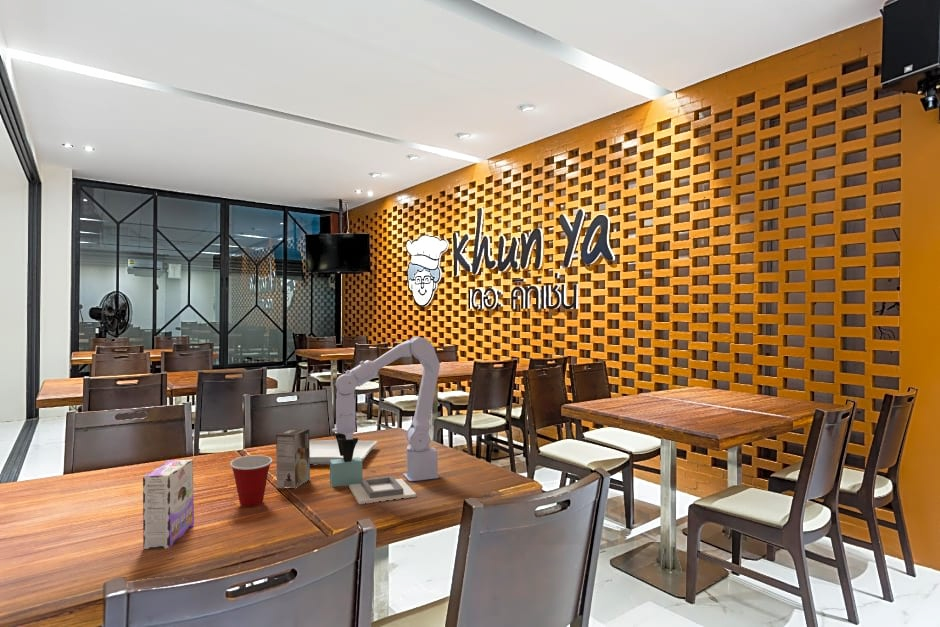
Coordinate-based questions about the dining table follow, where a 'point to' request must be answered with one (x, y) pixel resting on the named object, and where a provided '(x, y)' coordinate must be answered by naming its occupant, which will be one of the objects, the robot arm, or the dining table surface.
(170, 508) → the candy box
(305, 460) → the coffee box
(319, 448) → the square plate
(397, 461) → the dining table surface
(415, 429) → the robot arm
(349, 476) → the teal block
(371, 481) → the socket board
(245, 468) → the plastic cup
